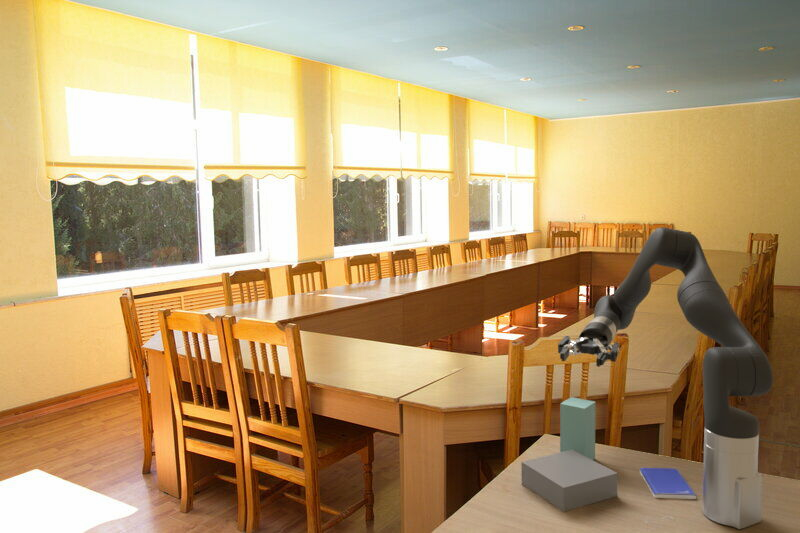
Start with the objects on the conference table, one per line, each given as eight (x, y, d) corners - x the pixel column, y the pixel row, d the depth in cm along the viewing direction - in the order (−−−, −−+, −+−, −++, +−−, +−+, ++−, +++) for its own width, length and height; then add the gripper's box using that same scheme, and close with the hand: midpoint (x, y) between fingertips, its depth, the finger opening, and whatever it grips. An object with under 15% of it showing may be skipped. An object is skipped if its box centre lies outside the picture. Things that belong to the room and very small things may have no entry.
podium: (617, 496, 132) (617, 473, 131) (563, 511, 126) (563, 487, 125) (572, 470, 144) (572, 449, 144) (521, 483, 138) (521, 461, 138)
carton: (595, 458, 150) (595, 401, 149) (584, 467, 146) (584, 408, 144) (571, 452, 154) (571, 396, 153) (560, 460, 150) (560, 403, 148)
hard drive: (696, 494, 129) (677, 468, 142) (654, 492, 130) (639, 467, 143) (696, 501, 130) (677, 475, 142) (654, 500, 131) (639, 474, 143)
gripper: (571, 318, 169) (551, 342, 156) (626, 324, 161) (610, 350, 148) (571, 344, 171) (552, 369, 158) (626, 351, 163) (610, 379, 150)
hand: (580, 360), depth 153 cm, fingers open, 8 cm apart
